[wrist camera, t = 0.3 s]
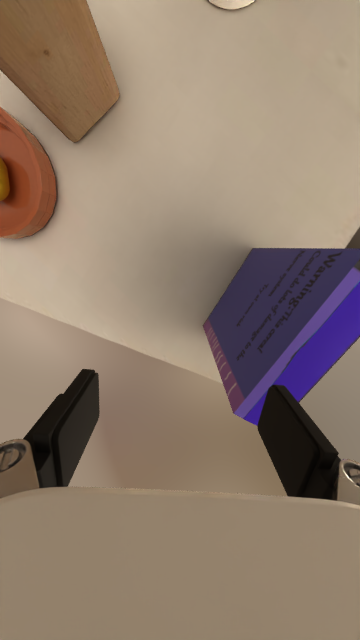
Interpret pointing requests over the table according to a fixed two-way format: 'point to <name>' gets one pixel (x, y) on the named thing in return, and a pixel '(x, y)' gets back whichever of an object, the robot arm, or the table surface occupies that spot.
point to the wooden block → (57, 61)
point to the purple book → (284, 322)
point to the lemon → (3, 181)
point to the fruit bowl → (24, 181)
